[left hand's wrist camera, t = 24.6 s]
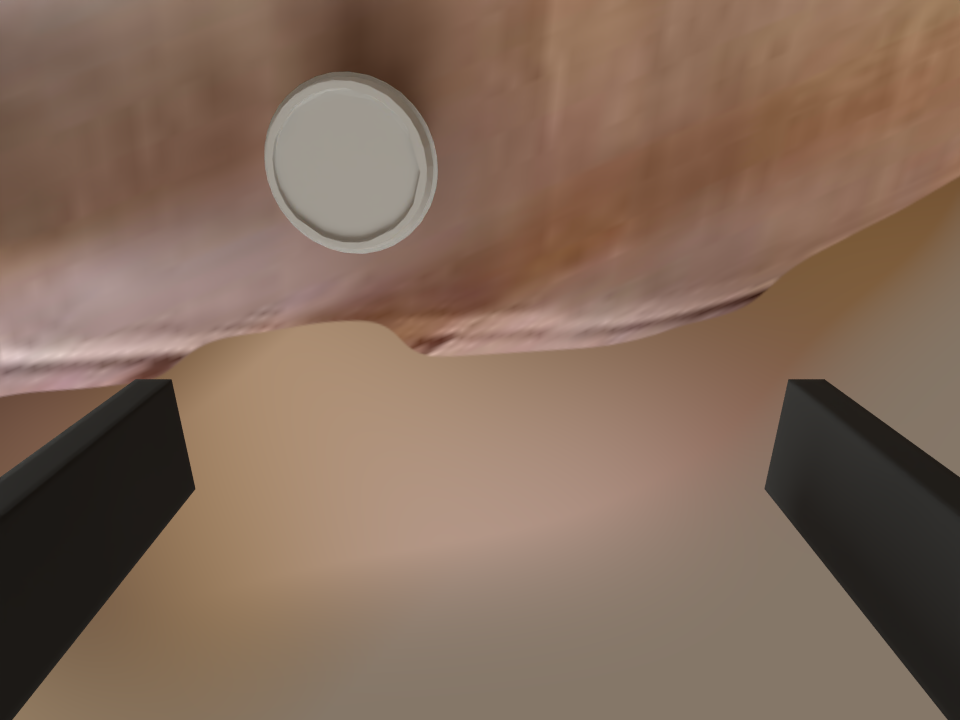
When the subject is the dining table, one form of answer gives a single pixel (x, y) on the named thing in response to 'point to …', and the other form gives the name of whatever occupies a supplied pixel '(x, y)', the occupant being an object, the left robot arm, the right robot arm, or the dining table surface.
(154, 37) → the dining table surface
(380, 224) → the disposable coffee cup
